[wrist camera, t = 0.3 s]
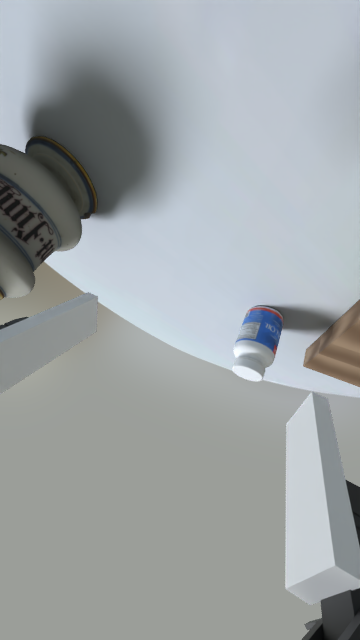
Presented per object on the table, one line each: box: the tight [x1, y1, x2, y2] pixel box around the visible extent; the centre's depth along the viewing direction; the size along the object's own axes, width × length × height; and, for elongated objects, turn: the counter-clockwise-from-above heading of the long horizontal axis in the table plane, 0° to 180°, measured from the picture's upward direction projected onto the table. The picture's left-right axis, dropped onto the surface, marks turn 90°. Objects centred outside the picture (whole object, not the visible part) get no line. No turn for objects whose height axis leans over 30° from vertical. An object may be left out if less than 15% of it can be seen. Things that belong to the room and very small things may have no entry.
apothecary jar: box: [0, 136, 97, 300], centre depth 25 cm, size 12×12×18 cm
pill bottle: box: [232, 306, 284, 381], centre depth 32 cm, size 6×5×10 cm
